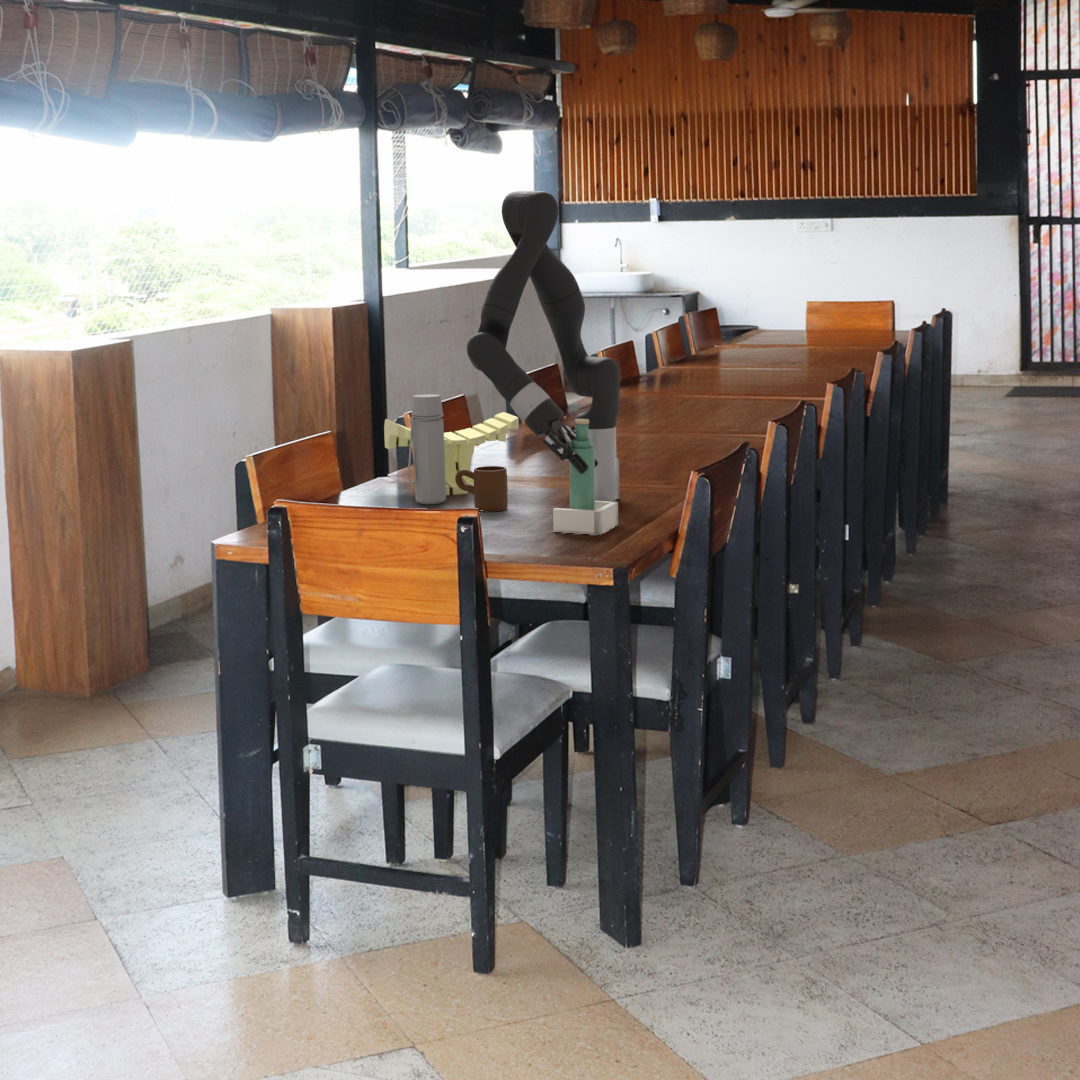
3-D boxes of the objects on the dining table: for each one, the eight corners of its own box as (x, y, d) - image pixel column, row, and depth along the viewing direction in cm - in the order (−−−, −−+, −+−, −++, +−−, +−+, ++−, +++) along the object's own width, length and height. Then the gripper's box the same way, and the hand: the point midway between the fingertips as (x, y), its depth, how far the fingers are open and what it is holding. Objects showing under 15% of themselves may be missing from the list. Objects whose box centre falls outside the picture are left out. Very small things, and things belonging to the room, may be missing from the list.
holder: (553, 532, 282) (553, 509, 280) (573, 522, 292) (572, 499, 291) (599, 535, 278) (599, 511, 277) (618, 525, 288) (617, 501, 287)
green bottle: (580, 506, 288) (580, 417, 284) (599, 508, 284) (599, 419, 280) (564, 509, 284) (564, 419, 280) (583, 512, 280) (583, 421, 277)
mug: (452, 511, 306) (450, 470, 305) (460, 505, 314) (459, 465, 312) (503, 512, 304) (502, 471, 302) (511, 506, 311) (510, 466, 310)
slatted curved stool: (501, 479, 348) (500, 410, 344) (520, 489, 333) (518, 417, 330) (386, 488, 339) (383, 417, 336) (399, 498, 324) (396, 424, 321)
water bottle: (436, 498, 324) (432, 393, 319) (452, 502, 317) (449, 395, 312) (402, 502, 319) (397, 396, 314) (417, 507, 312) (413, 398, 307)
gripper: (535, 400, 276) (590, 461, 274) (560, 393, 289) (614, 452, 287) (511, 425, 279) (566, 486, 277) (537, 417, 292) (590, 475, 290)
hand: (590, 468), depth 282 cm, fingers closed on green bottle, 5 cm apart
